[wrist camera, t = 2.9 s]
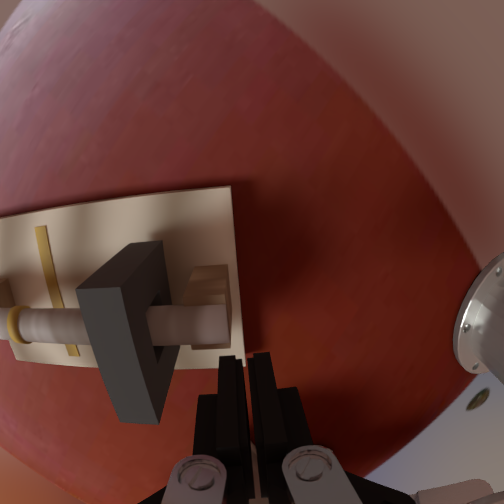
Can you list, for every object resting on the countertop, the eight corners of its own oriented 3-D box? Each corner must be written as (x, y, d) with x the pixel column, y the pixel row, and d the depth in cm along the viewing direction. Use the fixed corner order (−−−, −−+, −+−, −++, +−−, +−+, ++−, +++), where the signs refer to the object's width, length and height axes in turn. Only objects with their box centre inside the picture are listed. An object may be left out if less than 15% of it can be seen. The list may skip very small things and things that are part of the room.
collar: (162, 240, 18) (120, 287, 11) (180, 347, 20) (158, 424, 13) (129, 242, 18) (74, 289, 11) (150, 347, 20) (120, 422, 13)
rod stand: (230, 185, 19) (225, 199, 13) (245, 354, 23) (247, 423, 16) (-12, 220, 19) (-73, 242, 12) (24, 351, 22) (-16, 396, 16)
